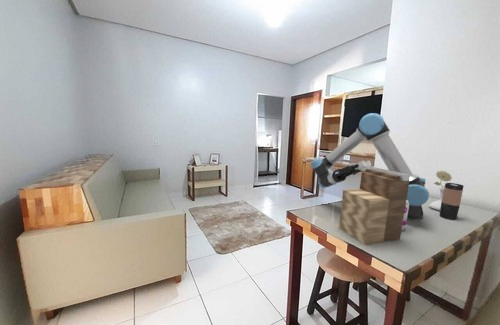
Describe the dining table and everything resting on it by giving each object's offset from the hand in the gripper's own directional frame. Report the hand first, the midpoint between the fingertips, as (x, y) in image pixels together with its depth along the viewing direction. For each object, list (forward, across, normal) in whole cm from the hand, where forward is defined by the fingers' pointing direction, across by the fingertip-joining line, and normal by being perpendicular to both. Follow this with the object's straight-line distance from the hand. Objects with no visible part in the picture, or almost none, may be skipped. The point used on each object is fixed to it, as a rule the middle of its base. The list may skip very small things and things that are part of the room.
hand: (367, 163), depth 104 cm
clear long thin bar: (+3, 0, -6) cm, 7 cm away
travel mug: (-11, -58, -31) cm, 67 cm away
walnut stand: (-7, +5, -33) cm, 34 cm away
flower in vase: (-20, -68, -26) cm, 76 cm away
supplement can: (-8, -14, -32) cm, 36 cm away
